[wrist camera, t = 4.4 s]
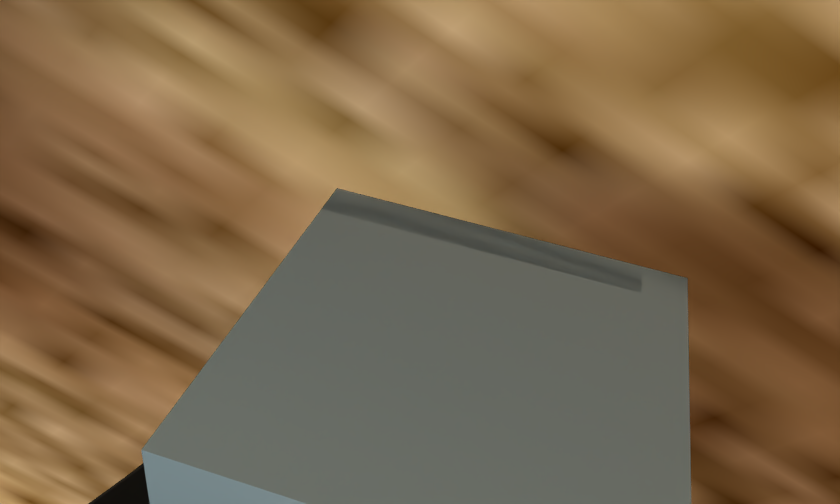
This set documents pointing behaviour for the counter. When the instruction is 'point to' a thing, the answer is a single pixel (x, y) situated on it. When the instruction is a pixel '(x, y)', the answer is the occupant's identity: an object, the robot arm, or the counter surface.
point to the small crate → (437, 375)
